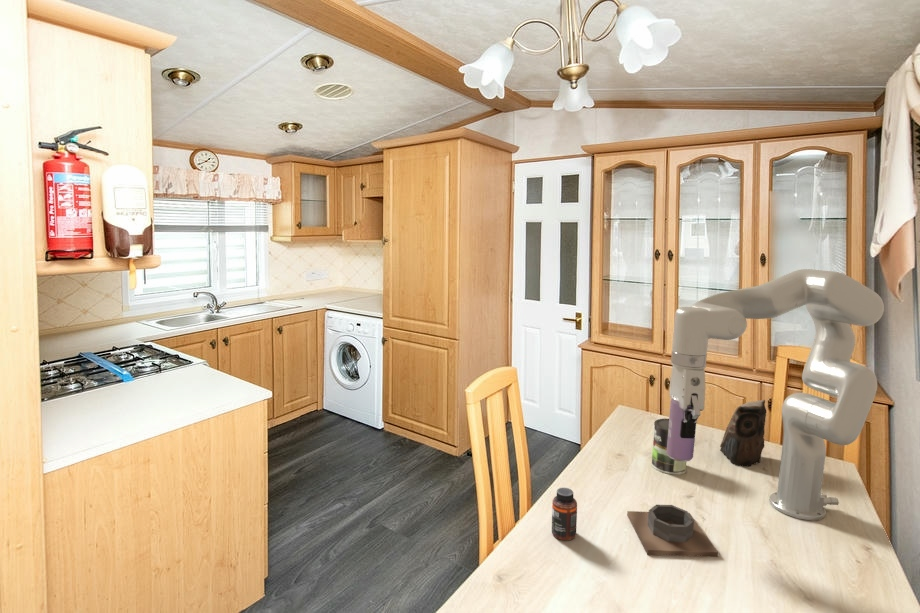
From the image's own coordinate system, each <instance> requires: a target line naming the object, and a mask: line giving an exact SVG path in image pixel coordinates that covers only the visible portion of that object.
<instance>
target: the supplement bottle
mask: <svg viewBox="0 0 920 613" xmlns="http://www.w3.org/2000/svg"><path fill="white" fill-rule="evenodd" d="M551 508H552V511H551V534H552V536H554V537H555V538H556V539H557V540H561V541H571V540H573V539H575V538H576V535H577V521H578V515H577V514H578V503H577V500H576V498H574V491H573V490H572V489H571V488H568V487H559V488H557V489H556V495H555V496H554V497H553V499H552V507H551Z"/></svg>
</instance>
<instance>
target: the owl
mask: <svg viewBox="0 0 920 613" xmlns="http://www.w3.org/2000/svg"><path fill="white" fill-rule="evenodd" d="M765 402H766V399H761V400H755V401H749V402H746V403H743V404H741V405H739V406H737V408H736V409H735V410H734V412H733V414H732V415H731V418H730V421H729V422H728V424H727V427H726V428H725V431H724V434H723V437H722V440H721V443H720V446H719V447H720V449H719V451H720V452H721V453H722V454H723V455H724V456H725V457H726V459H727V460H728V461H729V462H730V463H731V464H732V465H734V466H736V467H743V468H744V467H745V468H746V467H749V468H751V467H752V466H755V465H757V463H758V464H759V463H761V457H762V452H763V450H764V448H765V439H764V436H765V426H766V417H767V408H766V406H765Z"/></svg>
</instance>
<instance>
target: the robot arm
mask: <svg viewBox="0 0 920 613" xmlns="http://www.w3.org/2000/svg"><path fill="white" fill-rule="evenodd" d="M803 306H805V307H806V310H807V311H808V313H809V315H810V317H811V319H812V321H813V324H814V328H815V335H814V336H815V337H814V339H813V343H812V346H811V349H810V351H809V354H808V356H807V359H806V361H805V364H804V368H803V370H802V374H801V380H802V383H803V384H804V385H805V386H806V387H808V388H810V389H812V390H814V391H817V392H820V393H823V394H826V395H829V396H831V397H834V398H836V402H834V401H830V400H829V399H825V398H824V397H823V398H822V397H820V396H817V395H813V394H810V393H806V392H794V393H791V394H789V395H788V396H787V397H786V398H785V399H784V400H783V403H782V406H781V417H782V418H781V419H782V426H783V432H782V433H783V434H782V448H781V456H780V457H781V458H780V465H779V474H778V483H777V489H776V490H777V491H776V492H773V493H771V494H770V496H769V503H770V505H772V507H773V508H775V510H777V511H779V512H781V513H783V514H785V515H788V516H790V517H793V518H796V519H800V520H806V521H819V520H822V519H823V518H825V517H826V508H825V507H826V506H827V505H829V506H838V505H839V504H840V502H839V499H838V498H837V497H836V496H835V497H834V496H833V497H832V496H830V497H828V496H827V493H824V492H823V493H822V487H823V486H822V484H823V478H824V477H823V476H824V469H825V463H826V456H827V447H826V443H825V441H827V442H830V443H833V444H834V445H839V446H849V445H851V444H852V443H854V442H855V441H856V440H857V439H858V437H859V436H860V434H861V432H862V430H863V428H864V425H865V423H866V421H867V417H868V415H869V412H870V410H871V407H872V405H873V402H874V399H875V397H876V394H877V391H878V378H877V376H876V374H875V372H874V371H873V370H872V369H871V368H870V367H868V366H866V365H863V364H861V363H856V362H852V361H851V359H852V356H853V353H854V349H855V346H856V336H855V332H854V330H853V328H852V326H851V325H853V326H859V327H869V326H873V325H874V324H876V323H877V322H879V321H880V320H881V318H882V316H883V314H884V312H885V305H884V302H883V299H882V297H881V296H880V295H879V294H878V293H877V292H876V291H874V290H872V289H871V288H869V287H868V286H867V285H866V286H865V285H864V284H862V283H861V282H860V281H858V280H856V279H855V278H853V277H850V276H849V275H847V274H844V273H842V272H839V271H834V270H833V271H832V270H823V269H821V270H820V269H812V268H811V269H810V268H809V269H807V268H803V269H797V270H794V271H791V272H789V273H786V274H784V275H782V276H779V277H776V278H775V279H772V280H769V281H767V282H764V283H762V284H760V285H756V286H748V287H744V288H738V289H733V290H728V291H724V292H719V293H716V294H713V295H710V296H708V297H705V298H703V299H700V300H698V301H697V302H696V301H695V303H692V305H690V306H681V307H678V308H677V309H676V310H675V314H674V321H673V322H674V323H673V331H672V332H673V334H672V345H671V356H670V357H671V358H670V365H671V366H672V368H671V373H670V379H669V380H670V381H669V398H670V400H671V399H672V395H673V397H674V398H676V399H678V403H679V407H680V408H682V409H683V421H681V430H680V437H681V438H691V439H693V438H695V439H696V431H695V429H697V423H698V419H699V417H700V416H701V411H702V412H703V411H704V410H705V400H706V372H705V369H706V365H707V355H708V346H709V344H708V343H709V340H710V339H715V340H722V341H732V340H736V339H738V338H740V337H741V336H742V335H743V334H744V333H745V331H746V330H747V327H748V322H747V319H751V320H762V319H763V320H767V319H774V318H777V317H779V316H782V315H784V314H786V313H789V312H790V311H794V310H795V309H798V308H801V307H803ZM687 406H691V407H692V409H687ZM687 411H689V412H691V414H689V415H688V416H687Z"/></svg>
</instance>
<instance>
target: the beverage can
mask: <svg viewBox="0 0 920 613" xmlns="http://www.w3.org/2000/svg"><path fill="white" fill-rule="evenodd" d="M669 404H670V406H669V407H670V408H669V415H668V416H669V418H668V419H669V428H668V440H667V455H668V456H669V457H670V458H671V459H673V460H676V461H681V462H691V460H693V458H694V451H695V439H696V437H695V438H693V439H691V438H681V437H680V430H681V421H683V409H682V408H680V407H679V403H678V399H676V398H674V397H673V395H672V399H671V398H670V403H669ZM687 409H692V407H691V406H687ZM689 414H691V412H689V411H687V416H688V415H689ZM696 429H697V428H696ZM696 429H695V432H696V431H697V430H696Z"/></svg>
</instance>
